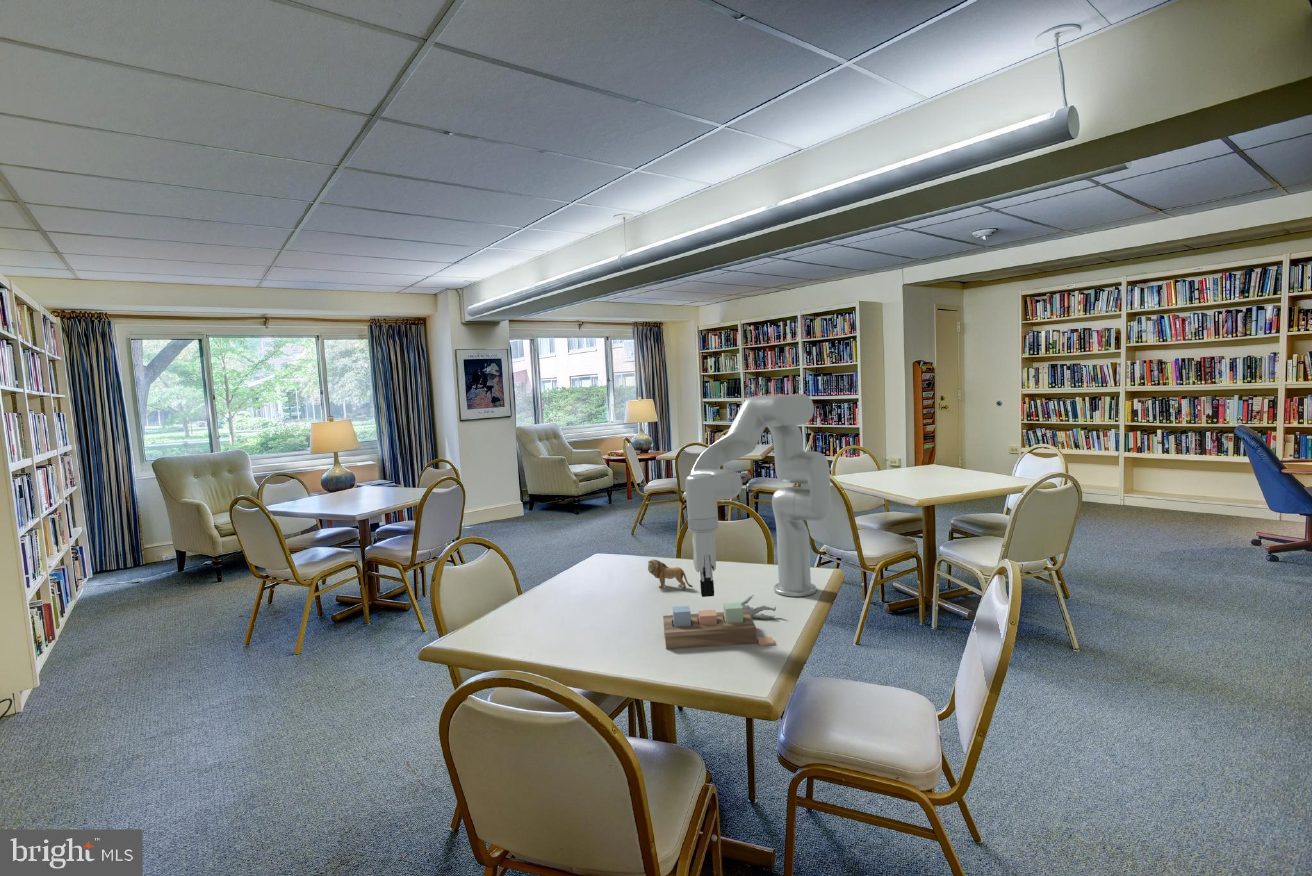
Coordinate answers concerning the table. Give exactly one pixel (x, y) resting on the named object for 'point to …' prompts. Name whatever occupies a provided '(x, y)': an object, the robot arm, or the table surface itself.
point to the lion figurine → (666, 573)
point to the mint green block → (733, 613)
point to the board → (709, 632)
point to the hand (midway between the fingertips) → (707, 595)
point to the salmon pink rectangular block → (707, 617)
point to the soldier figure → (756, 610)
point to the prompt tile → (765, 641)
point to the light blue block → (681, 616)
